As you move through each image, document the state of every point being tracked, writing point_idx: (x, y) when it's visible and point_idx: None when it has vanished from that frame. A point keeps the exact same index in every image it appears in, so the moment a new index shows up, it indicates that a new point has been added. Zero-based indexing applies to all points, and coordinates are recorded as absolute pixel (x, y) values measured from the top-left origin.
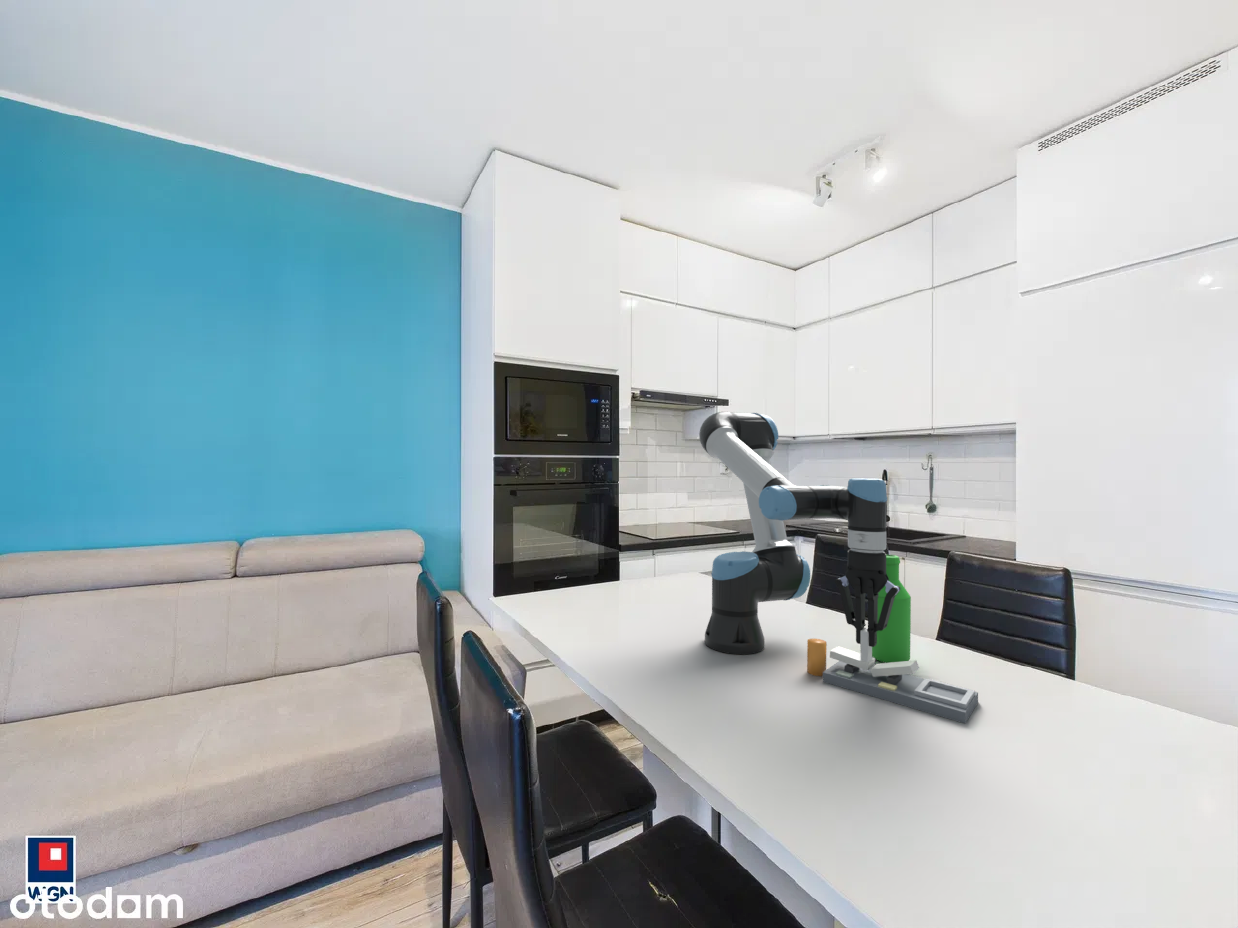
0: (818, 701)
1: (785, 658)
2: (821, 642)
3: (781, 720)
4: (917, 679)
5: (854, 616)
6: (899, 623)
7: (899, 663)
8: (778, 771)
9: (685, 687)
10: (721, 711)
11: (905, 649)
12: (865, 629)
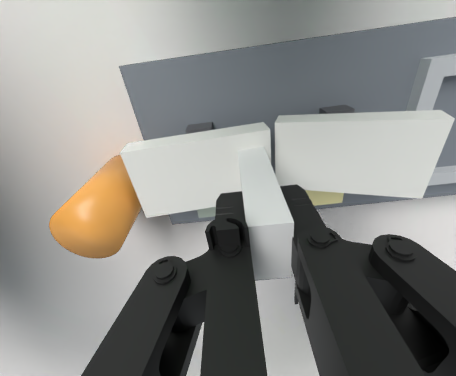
0: None
1: (6, 154)
2: (104, 232)
3: None
4: (393, 58)
5: (177, 311)
6: None
7: (372, 150)
8: (276, 370)
9: (92, 344)
10: None
11: None
12: (264, 252)
